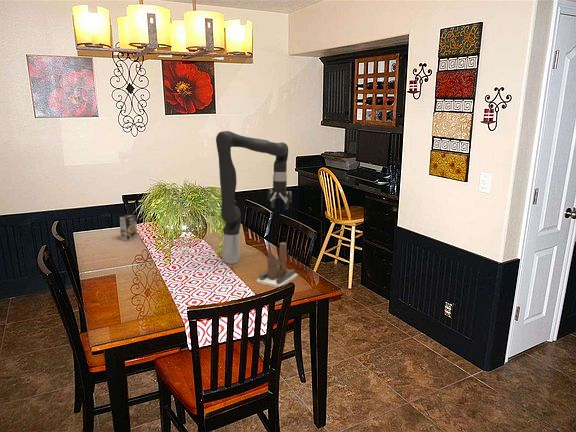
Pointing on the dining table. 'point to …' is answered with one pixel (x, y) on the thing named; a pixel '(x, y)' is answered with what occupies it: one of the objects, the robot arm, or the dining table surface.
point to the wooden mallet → (277, 263)
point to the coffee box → (128, 227)
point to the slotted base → (273, 282)
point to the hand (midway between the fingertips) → (279, 208)
